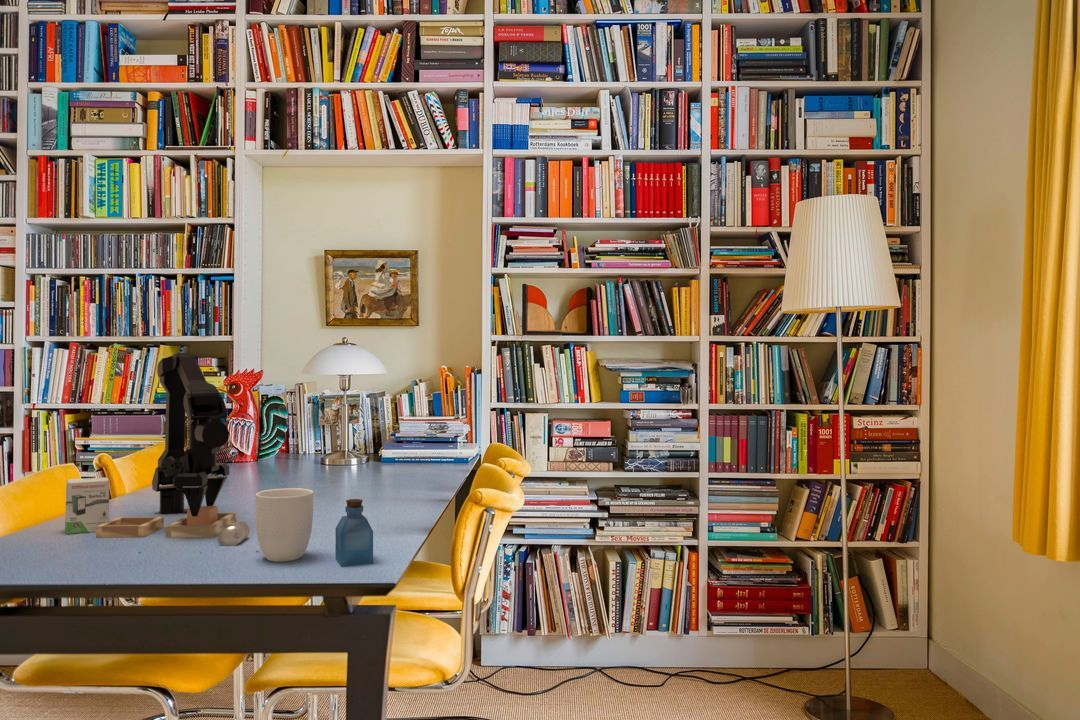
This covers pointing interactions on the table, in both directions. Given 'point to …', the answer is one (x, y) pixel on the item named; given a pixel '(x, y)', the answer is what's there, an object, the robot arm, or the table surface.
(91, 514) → the ink box
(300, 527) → the mug
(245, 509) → the table surface
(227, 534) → the grey rounded piece
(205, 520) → the cube
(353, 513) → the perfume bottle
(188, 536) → the birch box
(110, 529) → the oak box
